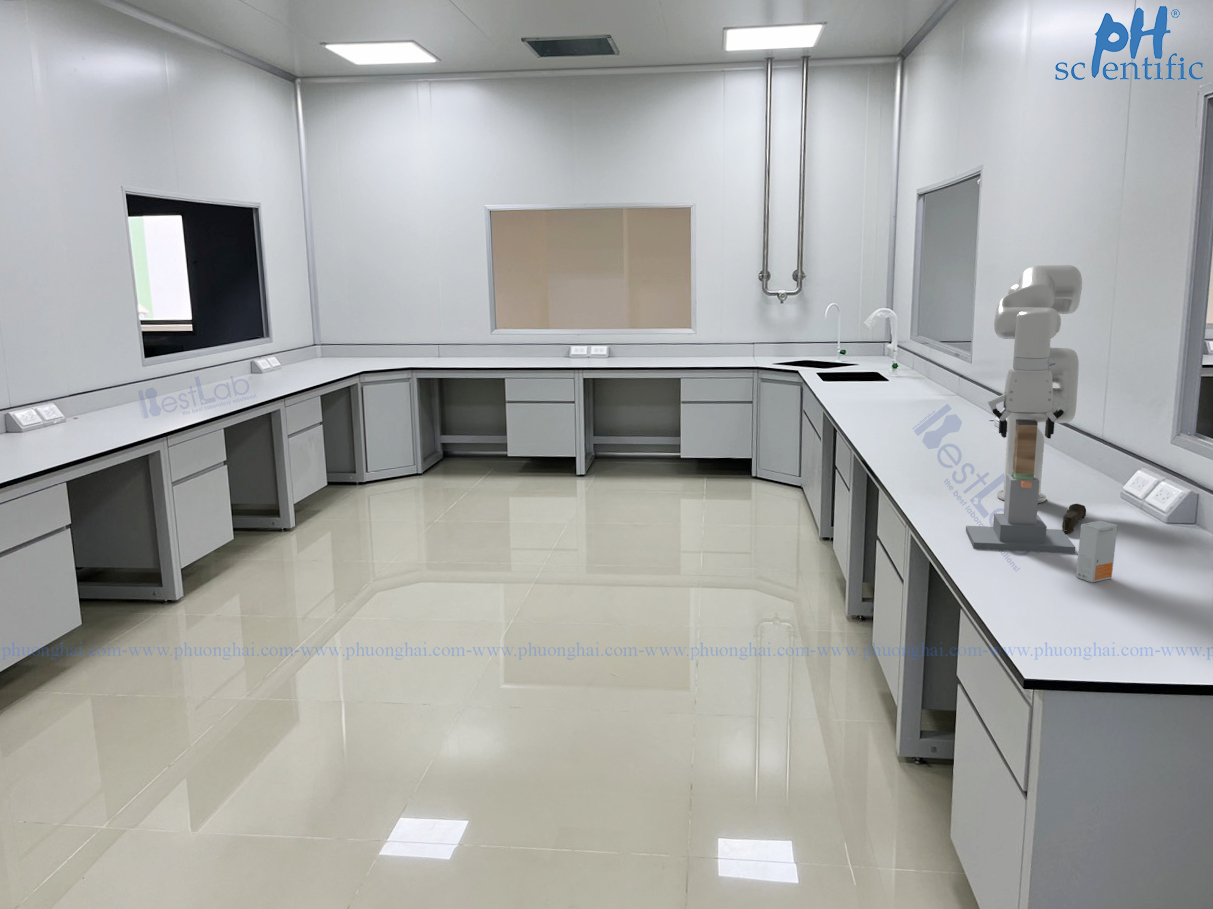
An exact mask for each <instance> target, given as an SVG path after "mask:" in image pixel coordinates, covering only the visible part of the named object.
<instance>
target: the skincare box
mask: <svg viewBox="0 0 1213 909" xmlns="http://www.w3.org/2000/svg"><path fill="white" fill-rule="evenodd" d="M1117 532H1118V524H1114V523H1112V522H1108V521H1104V520H1096V521H1090V522H1088V523H1086V522H1085V523H1082V524H1081V525H1080V533H1079V534H1080V535H1079V543H1078V544H1079V545H1078V555H1077V563H1076V571H1075V572H1076V574H1075V577H1076V578H1078V579H1080V580H1084V581H1087V582H1089V583H1097V582H1101V581H1106V580H1112V579H1113V571H1114V570H1113V569H1114V561H1115V560H1114V559H1115V552H1116V551H1115V550H1116V540H1117V534H1118V533H1117Z"/></svg>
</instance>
